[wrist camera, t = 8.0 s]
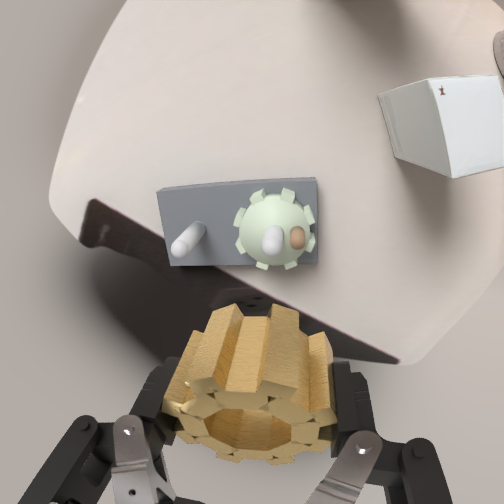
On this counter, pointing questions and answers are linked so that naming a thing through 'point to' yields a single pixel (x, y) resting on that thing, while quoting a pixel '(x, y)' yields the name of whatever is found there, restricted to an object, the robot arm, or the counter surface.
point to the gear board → (223, 217)
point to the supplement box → (447, 123)
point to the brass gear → (254, 387)
